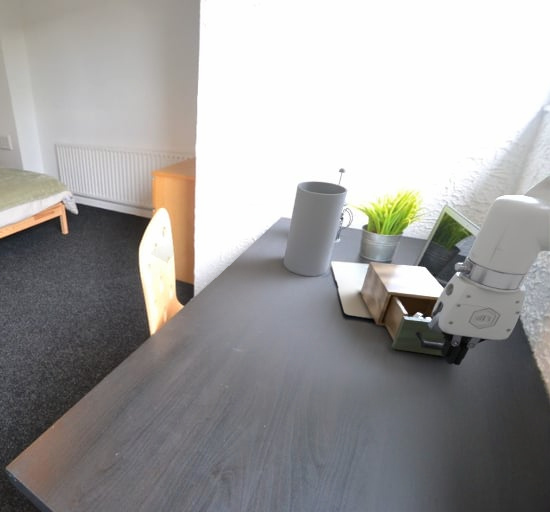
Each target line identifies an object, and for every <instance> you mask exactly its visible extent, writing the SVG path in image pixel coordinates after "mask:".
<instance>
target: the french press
mask: <svg viewBox="0 0 550 512" xmlns="http://www.w3.org/2000/svg"><path fill="white" fill-rule="evenodd" d="M338 172H339V173H340V177H339V182H338V185H340V184H341V181H342V176H343V174H345V173H346V169H345V168H343V167H342V168H340V169H338ZM348 204H349V201H347V200H346V199H345V202H344V206H343V207H346V206H347V205H348ZM346 212H347V213H348V216H349V222H348V224H347V225H346V226H344V227H343V223H344V220H345V218H344V217H343V216H344V213H346ZM353 221H354V215H353V212H352V211H351V209H350V208H349V207H346V208H343V210H342V214H341V218H340V222H339V226H338V230H337V234H336V238H335V242H334V244H336V243H340V242H341V233H342V230H345V229H347V228H349V227H350V226H351V225H352V223H353Z"/></svg>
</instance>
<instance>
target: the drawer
mask: <svg viewBox="0 0 550 512" xmlns="http://www.w3.org/2000/svg"><path fill="white" fill-rule="evenodd" d="M436 302H437V300H431V299H423V298H414V297H405V296H396V295H391V297H390V299H389V302H388V305H387V308H386V311H385V314H384V316H383V319H382V320H383V322H384V324H385V325H386V326H385V327H386V329H387V331H388V333H389V335H390V337H391V338H392V344H391V347H392V348H393V350H399V351H404V352H405V351H407V352H413V353H419V354H420V353H421V354H426V355H434V356H441V357H443V355H442V354H441V349H442V347H443V345H444V343H445V341H446V337H445V336H444V335H443V334H439V333H436V332H433V331H431V330H430V328H429V327H428V324H429V323H430V321H431V319H423V318H415V317H413V316H414V315H415V314H416V313H418V312H421V313H424V314H425V315H426V318H427V317H432V311H433V309H434V306H435V304H436Z"/></svg>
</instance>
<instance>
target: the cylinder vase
mask: <svg viewBox="0 0 550 512" xmlns="http://www.w3.org/2000/svg"><path fill="white" fill-rule="evenodd" d="M347 194H348V189H347V188H346V187H345V186H343V185H340V184H337V183H332V182H326V181H317V180H315V181H313V180H311V181H302V182H300V183H298V184H297V188H296V192H295V197H294V203H293V208H292V214H291V219H290V224H289V230H288V235H287V240H286V246H285V251H284V257H283V266H284V267H285V268H286V270H288V271H290V272H291V273H294V274H296V275H298V276H302V277H303V276H304V277H320V276H323V275H324V274H326V273H327V272H328V270H329V265H330V261H331V257H332V253H333V249H334V245H335V243H334V242H335V238H336V234H337V230H338V226H339V222H340V221H341V219H340V218H341V214H342V213H343V210H344V207H345V206H344V202H345V200H346V197H347Z"/></svg>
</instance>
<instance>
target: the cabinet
mask: <svg viewBox="0 0 550 512" xmlns="http://www.w3.org/2000/svg"><path fill="white" fill-rule="evenodd" d="M444 288H445V287H443V286H442V285H441V284H440V283H439V281H438V280H437V278H435V277H434V276H433V274H432V273H431V272H430V271H429V270H428V269H427V268H426V267H425V266H417V265H405V264H395V263H385V262H374V261H369V264H368V267H367V269H366V273H365V277H364V279H363V283H362V286H361V290H360V294H361V296H362V298H363V301H364V302H365V304H366V306H367V308H368V310H369V312H370V314H371V316H372V318H373V320H374V322H375V324H376V325H377V326H383V327H386V325H385V324H384V322H383V320H382V319H383V316H384V314H385V311H386V308H387V305H388V302H389V299H390V297H391V295H396V296H405V297H414V298H423V299H431V300H438V298H439V296H440V295H441V293H442V291H443V290H444Z"/></svg>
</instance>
